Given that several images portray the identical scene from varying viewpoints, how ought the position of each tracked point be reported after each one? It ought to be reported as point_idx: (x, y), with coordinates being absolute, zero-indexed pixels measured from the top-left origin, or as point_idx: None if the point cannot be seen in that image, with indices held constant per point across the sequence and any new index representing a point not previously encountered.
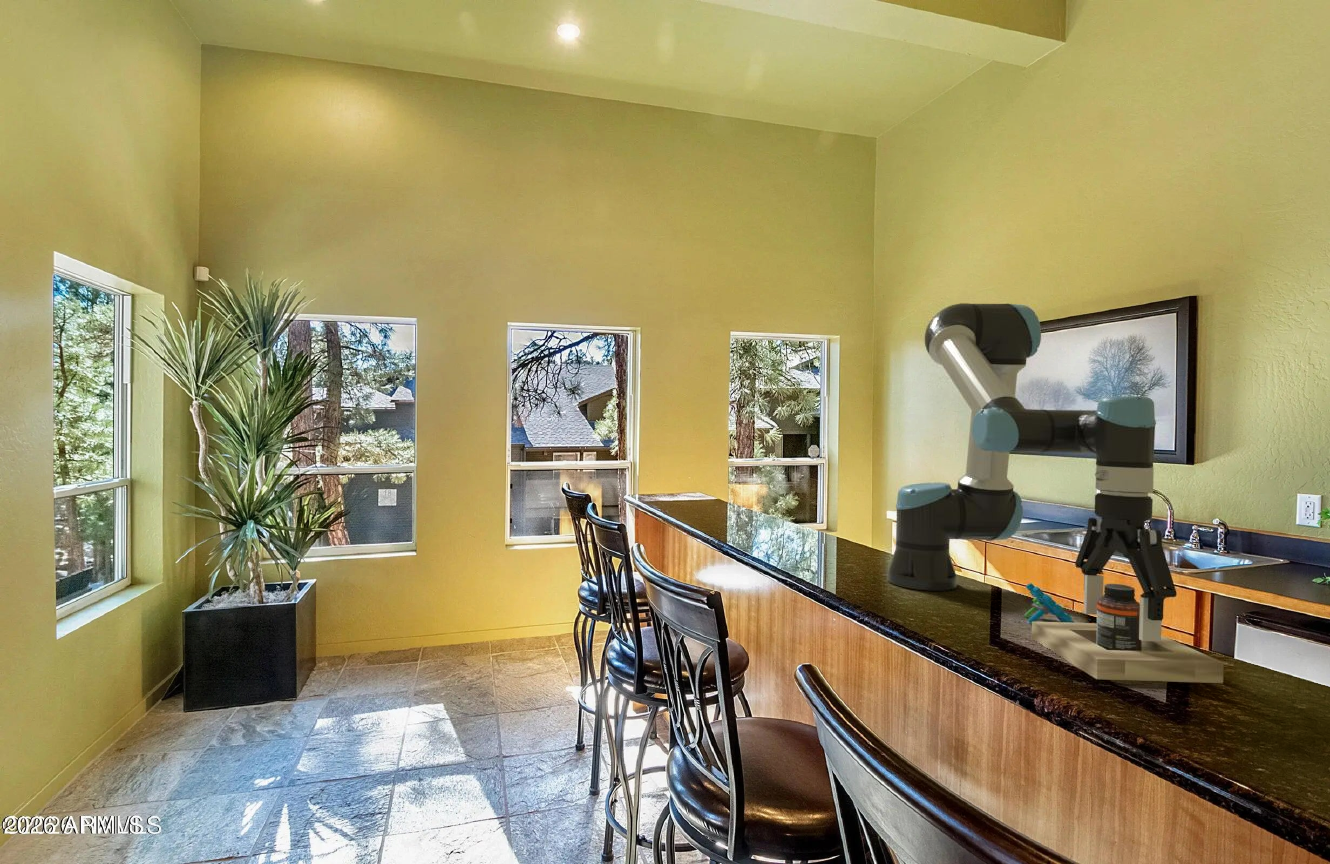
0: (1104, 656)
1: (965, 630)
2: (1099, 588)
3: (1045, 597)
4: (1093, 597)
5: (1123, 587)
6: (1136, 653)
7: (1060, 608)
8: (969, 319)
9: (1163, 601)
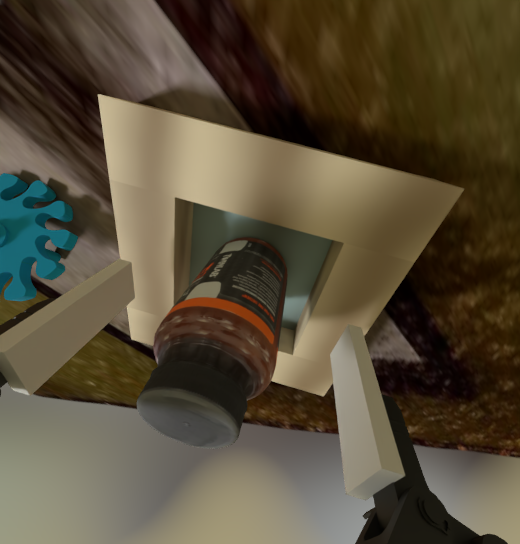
0: (318, 382)
1: (125, 363)
2: (64, 323)
3: (23, 300)
4: (96, 314)
5: (200, 425)
6: (322, 328)
7: (55, 270)
8: None
9: (426, 484)
